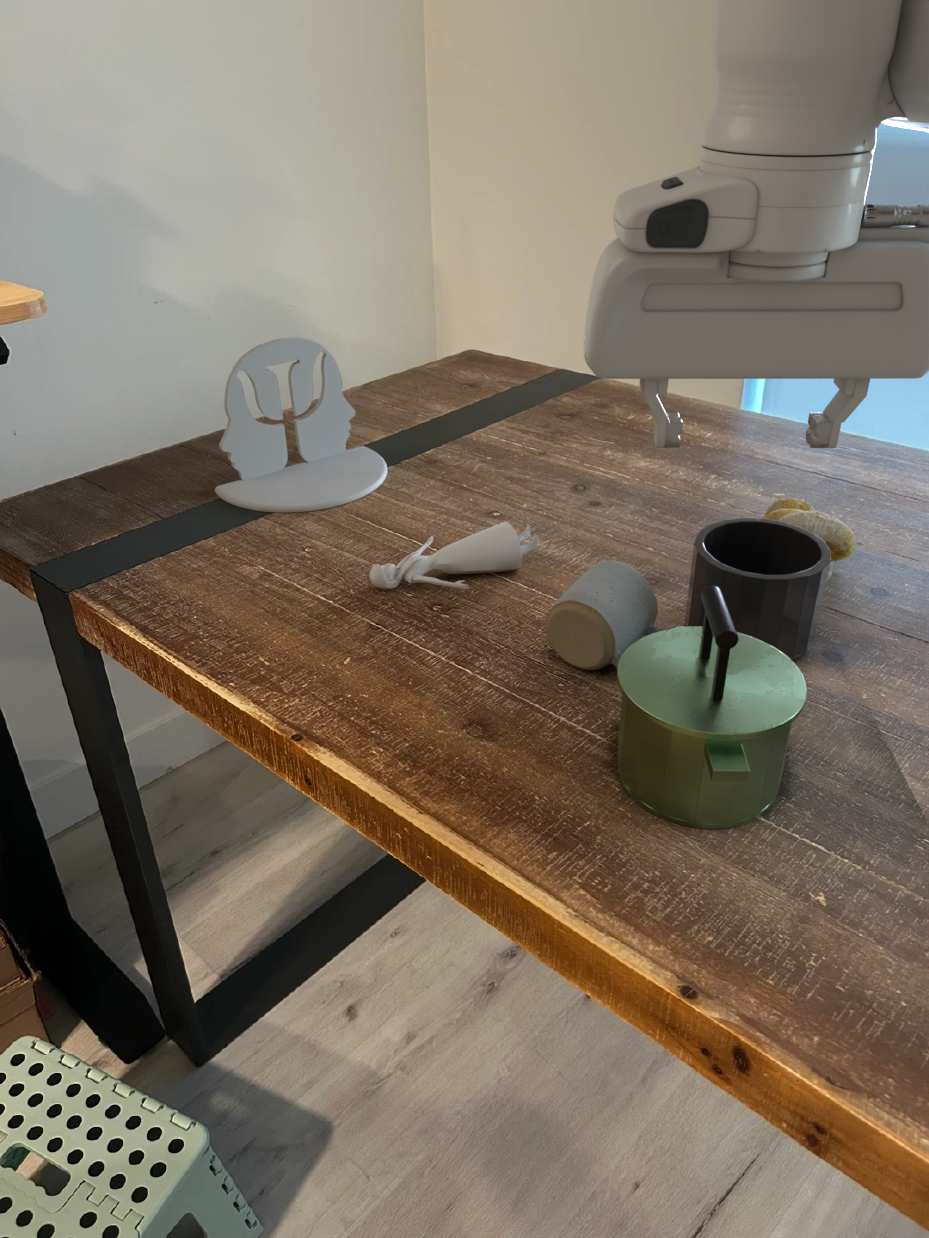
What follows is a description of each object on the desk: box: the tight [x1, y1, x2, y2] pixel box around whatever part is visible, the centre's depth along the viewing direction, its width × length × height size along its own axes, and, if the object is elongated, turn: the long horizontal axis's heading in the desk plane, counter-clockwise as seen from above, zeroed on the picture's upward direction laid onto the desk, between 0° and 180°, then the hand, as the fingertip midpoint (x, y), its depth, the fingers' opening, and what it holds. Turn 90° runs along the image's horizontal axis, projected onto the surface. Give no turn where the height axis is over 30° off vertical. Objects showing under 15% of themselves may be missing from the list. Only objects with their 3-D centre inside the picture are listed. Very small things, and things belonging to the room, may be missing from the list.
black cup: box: [684, 517, 831, 663], centre depth 89 cm, size 12×12×9 cm
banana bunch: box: [761, 497, 857, 582], centre depth 102 cm, size 10×6×15 cm
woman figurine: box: [369, 521, 540, 591], centre depth 101 cm, size 12×4×18 cm
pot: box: [616, 625, 794, 830], centre depth 72 cm, size 12×17×8 cm
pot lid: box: [616, 586, 808, 741], centre depth 69 cm, size 13×13×7 cm
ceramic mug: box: [545, 560, 662, 671], centre depth 86 cm, size 11×8×8 cm
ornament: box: [214, 336, 388, 514], centre depth 117 cm, size 22×13×17 cm, turn 126°
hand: (742, 445), depth 60 cm, fingers open, 8 cm apart
